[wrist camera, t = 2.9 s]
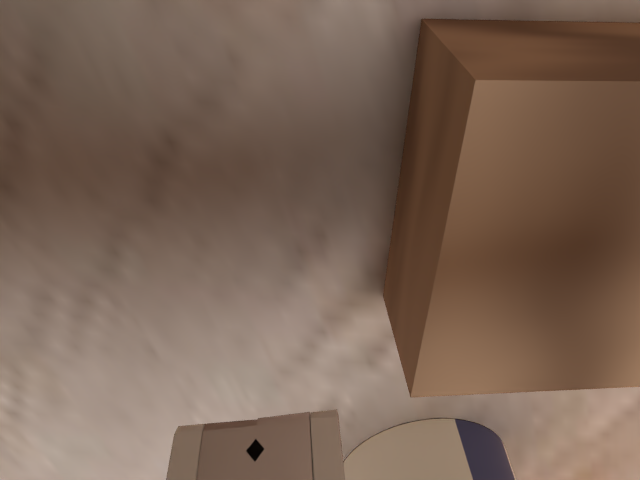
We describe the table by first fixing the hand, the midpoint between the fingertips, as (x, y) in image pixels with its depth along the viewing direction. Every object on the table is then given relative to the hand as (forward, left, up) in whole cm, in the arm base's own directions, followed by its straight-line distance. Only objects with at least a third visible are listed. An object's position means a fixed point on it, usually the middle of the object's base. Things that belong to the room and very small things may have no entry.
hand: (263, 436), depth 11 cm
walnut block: (+7, +2, -8) cm, 11 cm away
